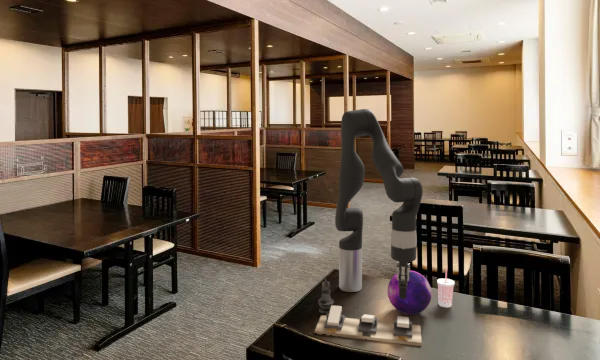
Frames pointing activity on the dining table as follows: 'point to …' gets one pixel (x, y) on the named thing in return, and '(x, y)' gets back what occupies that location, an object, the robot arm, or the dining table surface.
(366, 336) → the switch board
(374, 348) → the dining table surface
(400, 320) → the block
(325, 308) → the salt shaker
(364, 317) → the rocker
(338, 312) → the block
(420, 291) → the decorative orb
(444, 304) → the beverage cup
